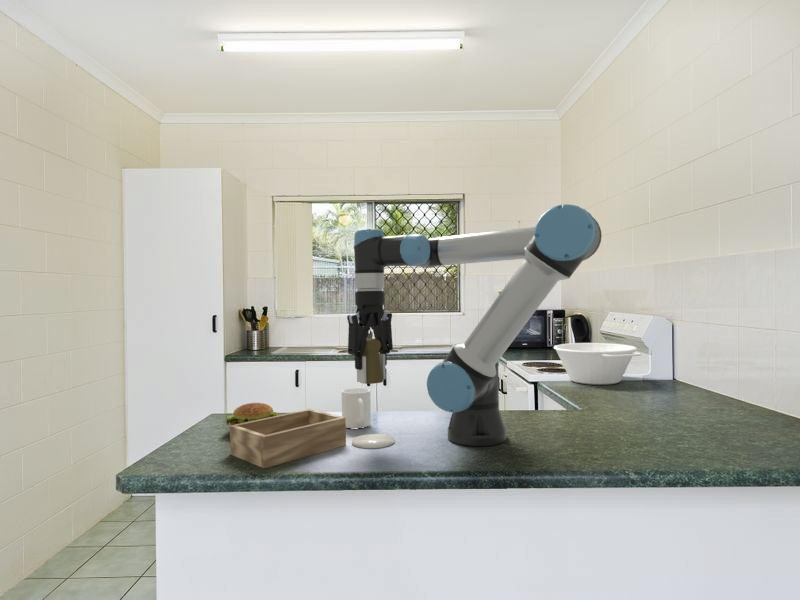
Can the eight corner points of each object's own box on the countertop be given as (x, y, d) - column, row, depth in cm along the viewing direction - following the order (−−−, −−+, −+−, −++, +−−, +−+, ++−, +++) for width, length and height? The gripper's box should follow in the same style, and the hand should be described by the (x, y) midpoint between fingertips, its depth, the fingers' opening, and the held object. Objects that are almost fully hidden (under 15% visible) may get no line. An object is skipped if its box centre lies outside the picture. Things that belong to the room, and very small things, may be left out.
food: (249, 423, 160) (249, 397, 159) (287, 428, 153) (287, 400, 153) (215, 435, 147) (214, 406, 147) (255, 440, 141) (254, 410, 141)
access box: (346, 445, 135) (345, 417, 135) (264, 468, 118) (263, 437, 118) (309, 434, 146) (309, 408, 146) (230, 454, 129) (229, 425, 129)
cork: (359, 379, 140) (358, 338, 139) (382, 379, 140) (381, 337, 140) (359, 384, 134) (358, 340, 133) (383, 383, 134) (382, 339, 134)
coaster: (403, 441, 137) (403, 439, 137) (371, 451, 129) (371, 448, 129) (374, 433, 145) (374, 431, 145) (342, 442, 137) (342, 440, 137)
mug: (377, 431, 147) (376, 394, 147) (347, 434, 145) (346, 396, 145) (367, 421, 159) (366, 387, 159) (340, 424, 157) (339, 389, 156)
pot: (534, 376, 232) (533, 344, 232) (597, 372, 241) (596, 340, 241) (591, 393, 194) (591, 354, 194) (664, 387, 203) (663, 349, 202)
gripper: (386, 289, 146) (387, 374, 146) (331, 290, 132) (333, 383, 133) (406, 289, 141) (407, 377, 141) (350, 290, 127) (352, 387, 127)
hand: (371, 380), depth 137 cm, fingers closed on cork, 6 cm apart
